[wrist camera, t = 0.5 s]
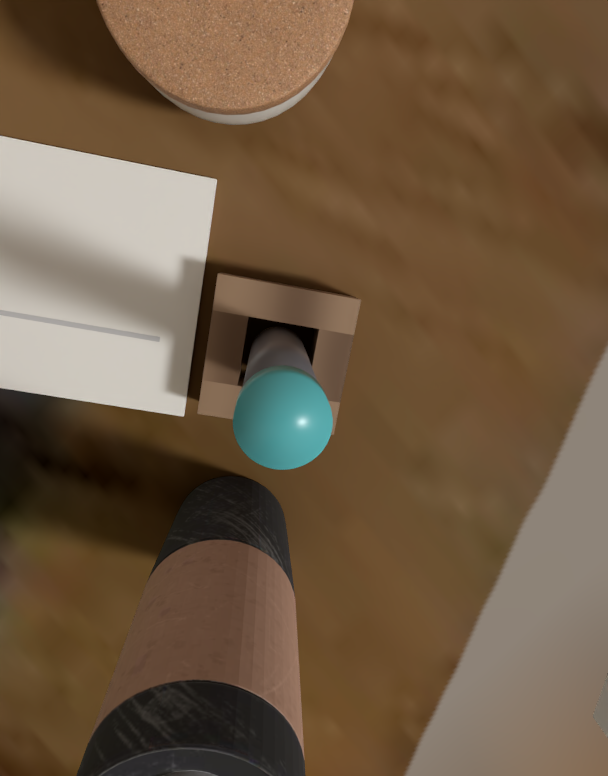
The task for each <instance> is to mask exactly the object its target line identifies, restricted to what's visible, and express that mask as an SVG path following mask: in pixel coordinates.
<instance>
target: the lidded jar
mask: <svg viewBox="0 0 608 776" xmlns="http://www.w3.org/2000/svg"><path fill="white" fill-rule="evenodd" d="M96 2H97V5H98V7H99V10H100V12H101V14H102V17H103V19H104V22H105V24H106V26H107V28H108V30H109V32H110V33H111V35H112V37H113V38H114V40H115V42H116V44H117V45H118V47H119V48H120V50H121V51H122V52H123V54H124V55H125V56H126V57H127V59H128V60H129V61H130V63H131V64H132V65H133V66H134V68H135V69H136V70H137V71H138V72H139V73H140V74H141V75H142V76H143V77H144V78H145V79H146V80H147V81H148V82H149V83H150V84H151V85H152V86H153V87H154V88H155V89H156V90H157V91H158V92H160V93H161V94H162V95H163V96H164V97H165V98H167V99H168V100H170V101H171V102H172V103H174V104H175V105H177V106H178V107H179V108H181V109H182V110H184V111H186V112H188V113H190V114H192V115H194V116H196V117H198V118H202V119H205V120H208V121H211V122H214V123H222V124H229V125H239V124H251V123H256V122H261V121H264V120H267V119H269V118H272V117H275V116H277V115H279V114H281V113H283V112H284V111H286V110H287V109H289V108H291V107H292V106H294V105H295V104H296V103H297V102H298V101H299V100H301V99H302V98H303V97H304V96H305V95H306V94H307V93H308V92H309V91H310V89H311V88H312V87H313V86H314V85H315V83H316V82H317V81H318V80H319V79H320V77H321V76H322V74H323V72H324V71H325V69H326V67H327V66H328V64H329V62H330V60H331V58H332V56H333V54H334V52H335V51H336V49H337V47H338V46H339V43H340V41H341V39H342V36H343V34H344V32H345V29H346V27H347V24H348V21H349V17H350V14H351V10H352V6H353V2H354V0H96Z"/></svg>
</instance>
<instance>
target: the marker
mask: <svg viewBox="0 0 608 776" xmlns="http://www.w3.org/2000/svg"><path fill="white" fill-rule="evenodd" d="M332 426H333V417H332V411H331V407H330V404H329V402H328V400H327V397H326V395H325V392H324V390H323V388H322V387H321V385H320V384H319V382H318V381H317V379H316V376H315V374H314V371H313V368H312V366H311V363H310V361H309V358H308V356H307V353H306V350H305V348H304V345H303V343H302V341H301V339H300V338H299V336H298V335H297V334H296V333H295V332H293V331H292V330H290V329H288V328H285V327H271V328H267V329H265V330H263V331H262V332H261V333H259V334H258V335H257V336H256V338H255V339H254V341H253V343H252V346H251V350H250V355H249V359H248V364H247V369H246V373H245V378H244V383H243V387H242V389H241V391H240V393H239V395H238V398H237V402H236V406H235V411H234V415H233V429H234V434H235V437H236V440H237V442H238V444H239V446H240V447H241V449H242V450H243V451H244V453H245V454H246V455H247V456H248V457H249V458H251V459H252V460H253V461H255V462H256V463H258V464H260V465H262V466H265V467H268V468H272V469H280V470H284V469H293V468H297V467H300V466H302V465H305V464H307V463H308V462H310V461H312V460H313V459H314V458H316V457H317V456H318V455H319V454H320V453H321V452H322V450H323V449H324V448H325V446H326V444H327V443H328V441H329V438H330V436H331V432H332Z"/></svg>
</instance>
